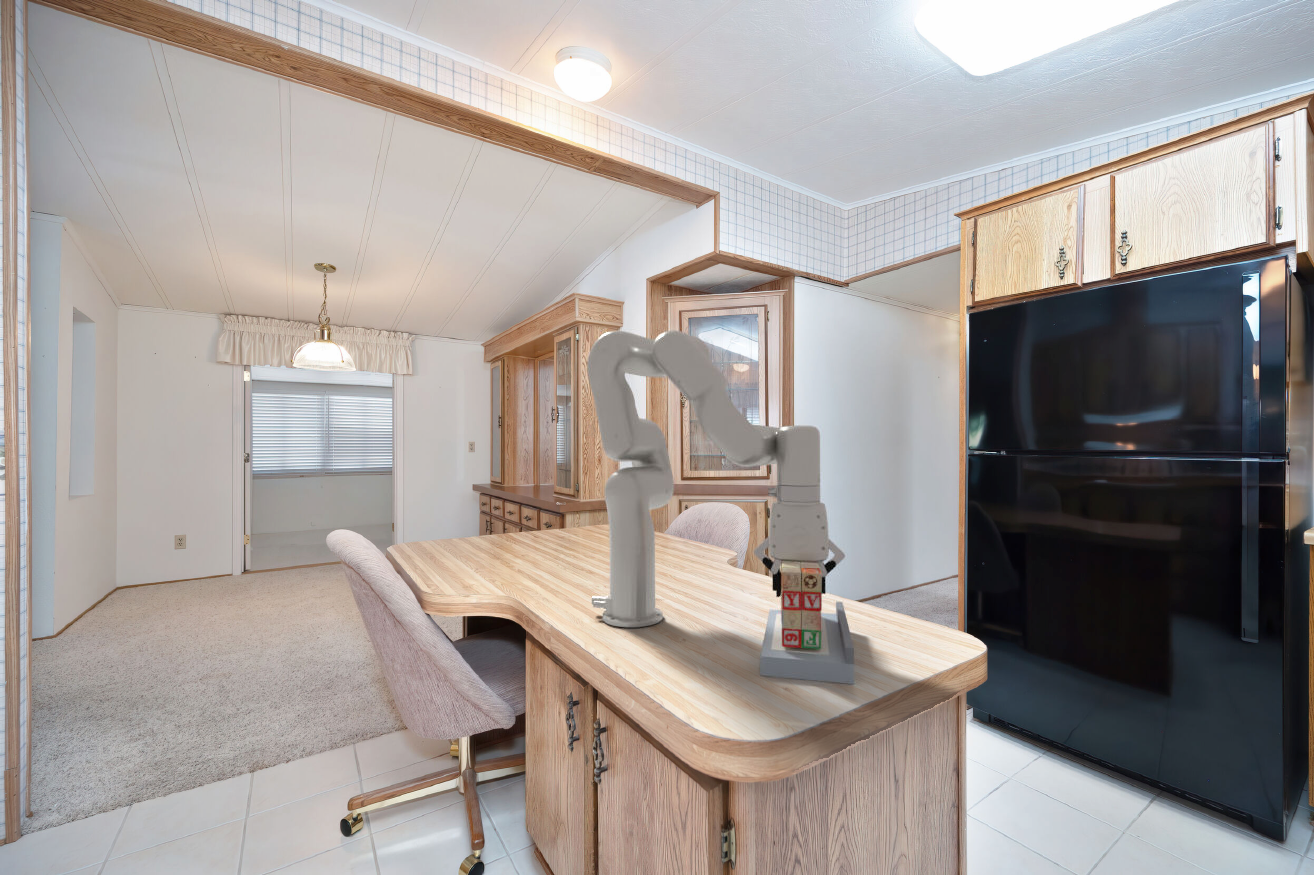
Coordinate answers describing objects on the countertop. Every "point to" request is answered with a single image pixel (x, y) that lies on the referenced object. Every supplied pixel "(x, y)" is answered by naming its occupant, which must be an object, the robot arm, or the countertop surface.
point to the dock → (810, 651)
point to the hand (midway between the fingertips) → (798, 595)
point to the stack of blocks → (801, 604)
